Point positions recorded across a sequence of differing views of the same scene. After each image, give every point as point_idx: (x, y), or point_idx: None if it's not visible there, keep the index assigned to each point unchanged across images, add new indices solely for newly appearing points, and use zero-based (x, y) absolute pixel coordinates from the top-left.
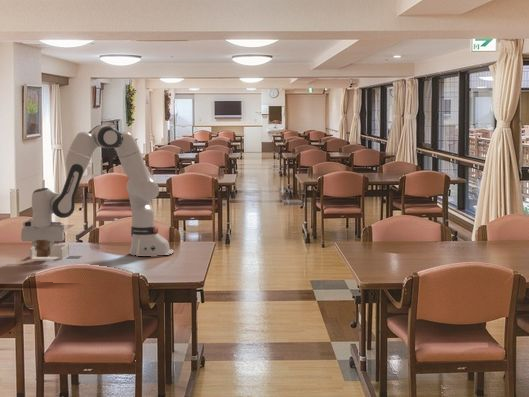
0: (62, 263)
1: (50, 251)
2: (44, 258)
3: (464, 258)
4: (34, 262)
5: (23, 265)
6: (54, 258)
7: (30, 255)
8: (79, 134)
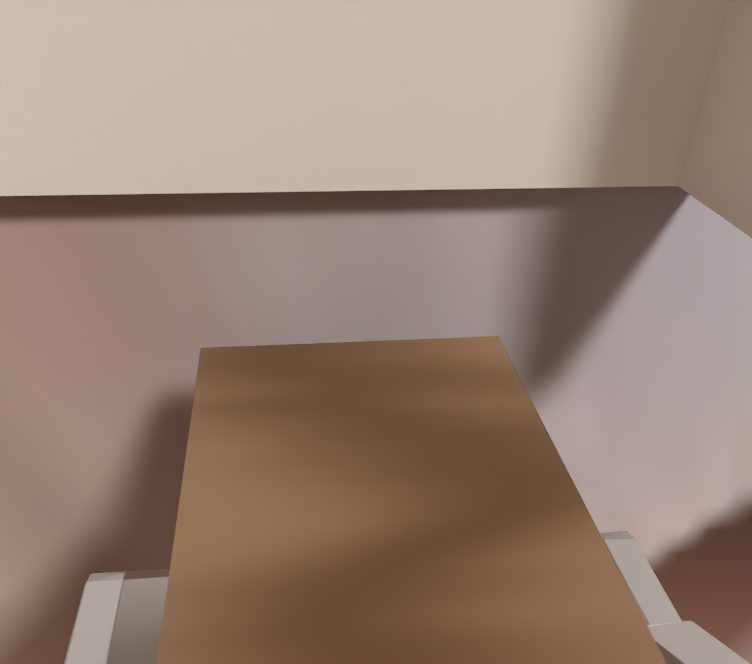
0: (702, 416)
1: (528, 399)
2: (257, 150)
3: None
4: (138, 403)
5: (65, 611)
6: (527, 129)
7: None
8: None
